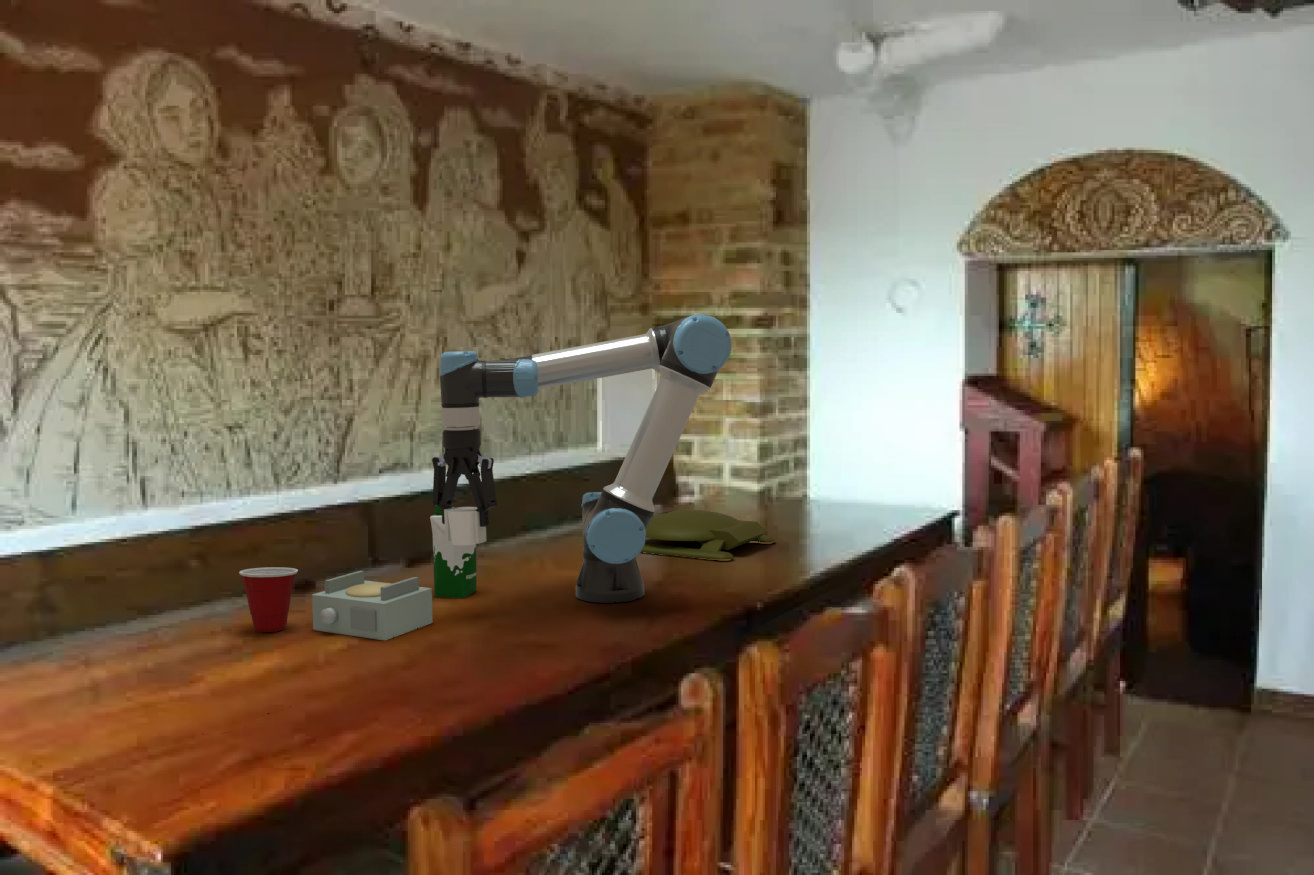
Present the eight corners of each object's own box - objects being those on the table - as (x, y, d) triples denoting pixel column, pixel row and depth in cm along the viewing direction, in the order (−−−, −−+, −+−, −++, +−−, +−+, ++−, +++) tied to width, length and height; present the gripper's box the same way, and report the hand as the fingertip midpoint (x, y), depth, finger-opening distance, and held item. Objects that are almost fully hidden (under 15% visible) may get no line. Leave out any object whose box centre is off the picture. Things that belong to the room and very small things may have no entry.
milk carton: (444, 588, 242) (442, 501, 240) (482, 590, 240) (480, 502, 238) (428, 597, 233) (426, 507, 231) (467, 599, 231) (465, 508, 229)
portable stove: (432, 622, 212) (431, 575, 211) (379, 642, 198) (377, 592, 197) (363, 613, 220) (361, 568, 219) (307, 631, 206) (305, 583, 205)
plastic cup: (312, 624, 212) (309, 564, 211) (276, 638, 202) (273, 576, 200) (267, 620, 215) (264, 561, 214) (229, 634, 205) (226, 572, 204)
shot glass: (450, 540, 219) (449, 506, 218) (484, 539, 219) (482, 505, 219) (447, 546, 212) (445, 511, 211) (481, 545, 212) (480, 510, 212)
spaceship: (778, 544, 293) (778, 509, 293) (727, 564, 267) (727, 526, 266) (669, 533, 311) (669, 500, 311) (611, 552, 285) (610, 515, 284)
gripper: (512, 427, 212) (516, 541, 214) (433, 426, 221) (438, 535, 223) (490, 430, 206) (495, 547, 208) (410, 429, 215) (415, 541, 217)
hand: (465, 541), depth 216 cm, fingers closed on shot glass, 7 cm apart
